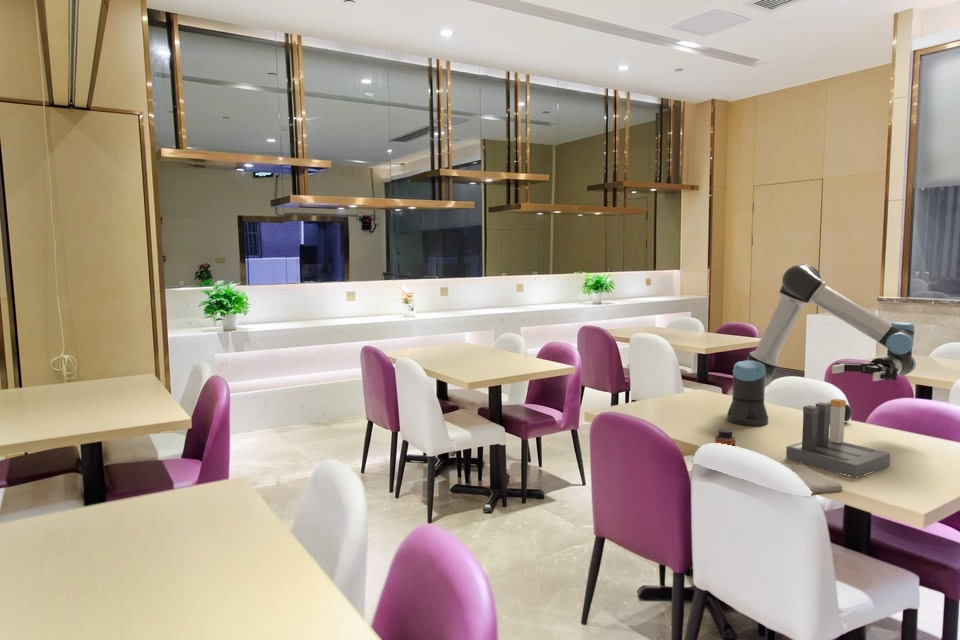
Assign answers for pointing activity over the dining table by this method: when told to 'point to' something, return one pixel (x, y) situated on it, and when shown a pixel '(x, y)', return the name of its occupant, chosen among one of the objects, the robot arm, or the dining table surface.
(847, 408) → the ceramic mug
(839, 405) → the handle
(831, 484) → the washcloth
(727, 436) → the supplement bottle
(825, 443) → the grey peg stand
